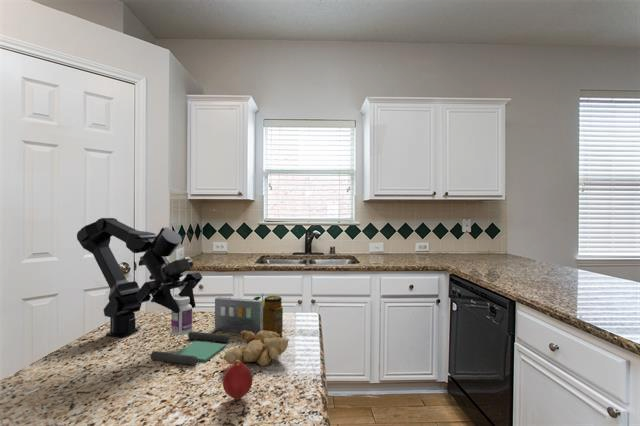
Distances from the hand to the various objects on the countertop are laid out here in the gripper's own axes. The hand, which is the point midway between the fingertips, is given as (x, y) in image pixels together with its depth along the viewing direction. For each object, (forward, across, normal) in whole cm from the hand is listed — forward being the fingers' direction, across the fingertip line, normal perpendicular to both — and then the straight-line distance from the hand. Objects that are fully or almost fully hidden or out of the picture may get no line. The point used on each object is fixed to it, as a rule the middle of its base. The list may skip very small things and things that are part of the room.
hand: (186, 309), depth 90 cm
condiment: (+20, +18, -4) cm, 27 cm away
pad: (+11, 0, +4) cm, 12 cm away
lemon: (+12, +28, +4) cm, 30 cm away
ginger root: (+23, +4, -8) cm, 25 cm away
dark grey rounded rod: (+10, -7, +5) cm, 14 cm away
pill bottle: (+4, 0, +6) cm, 7 cm away
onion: (+28, -14, -13) cm, 34 cm away
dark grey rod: (+8, +7, +7) cm, 13 cm away
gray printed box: (+10, +18, +5) cm, 21 cm away
